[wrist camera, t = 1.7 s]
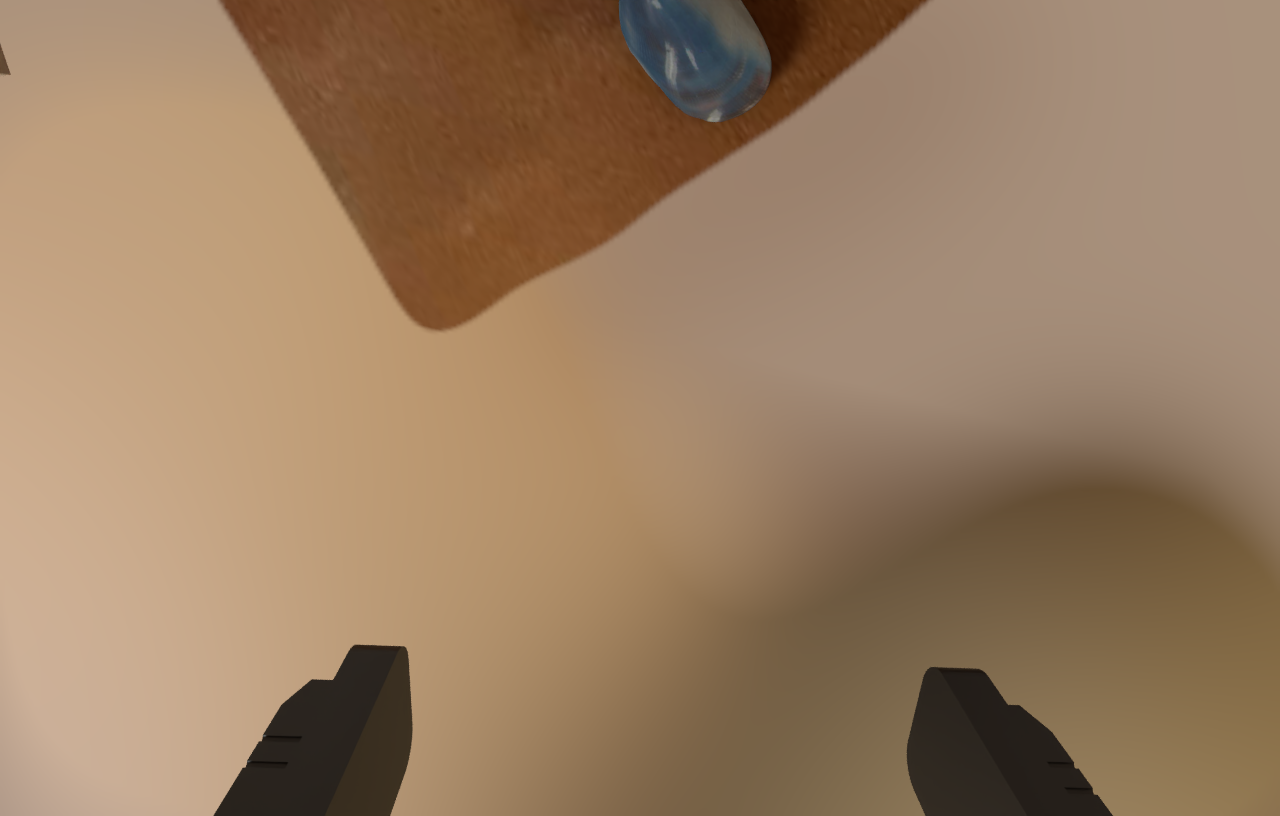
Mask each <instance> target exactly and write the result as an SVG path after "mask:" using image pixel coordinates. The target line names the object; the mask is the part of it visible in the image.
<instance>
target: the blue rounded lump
mask: <svg viewBox="0 0 1280 816" xmlns="http://www.w3.org/2000/svg"><path fill="white" fill-rule="evenodd" d="M619 18H620V24H621V29H622V32H623V35H624V37H625V40H626V42H627V45H628V47H629V49H630V51H631V52H632V54H633V55H634V56H635V57H636V59H637V60H638V61H639V63H640V64H641V66H642V67H643V69H644V70H645V72H646V73H647V74H648V75H649V76H650V77H651V78H652V80H653V81H654V82H655V83H656V84H657V85H658V86H659V87H660V88H661V89H662V90H663V92H664V93H665V94H666V95H667V97H668V98H669V99H670V100H671V101H672V102H673V103H674V104H675V105H676V106H677V107H678V108H679V109H680V110H682V111H683V112H684V113H686V114H688V115H690V116H692V117H696V118H700V119H703V120H706V121H710V122H722V121H726V120H729V119H732V118H734V117H737V116H739V115H742V114H743V113H745V112H747V111H748V110H749V109H751V108H752V107H753V106H754V105H756V104H757V103H758V102H759V101H760V100H761V98H762V97H763V95H764V94H765V92H766V90H767V88H768V86H769V83H770V79H771V57H770V53H769V50H768V47H767V45H766V43H765V41H764V38H763V37H762V35H761V33H760V31H759V29H758V27H757V26H756V24H755V22H754V20H753V18H752V17H751V15H750V13H749V11H748V10H747V9H746V7H745V6H744V4H743V3H742V1H741V0H619Z"/></svg>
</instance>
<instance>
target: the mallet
mask: <svg viewBox="0 0 1280 816" xmlns="http://www.w3.org/2000/svg"><path fill="white" fill-rule="evenodd" d="M1 75H10V71H9V69H8V66H7V63H6V60H5V57H4V54H3V51H2V48H1V45H0V76H1Z"/></svg>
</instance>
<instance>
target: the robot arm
mask: <svg viewBox="0 0 1280 816" xmlns="http://www.w3.org/2000/svg"><path fill="white" fill-rule="evenodd" d="M411 742H412V709H411V692H410V676H409V659H408V652H407V649H406V648H405V647H404V646H377V645H354V646H353V647H352V648H351V649H350V650H349V652H348V654H347V655H346V658H345V659H344V661H343V663H342V665H341V667H340V668H339V670H338V672H337V674H336V676H335V678H334V679H333V680H313V679H312V680H311V681H309V682H308V683H307V684H306V685H305V686H303V687H302V688H301V689H300V690H299V691H297V692H296V693H295V694H294V695H293V696H291V697H290V698H289V699H288V700H287V701H285V702H284V703H283V704H282V705H281V707H280V708H279V710H278V712H277V713H276V715H275V716H274V718H273V720H272V721H271V723H270V724H269V726H268V728H267V729H266V731H265V733H264V734H263V739H262V741H260V742H258V744H257V746H256V748H255V749H254V750H253V752H252V754H251V755H250V757H249V759H248V760H247V765H246V768H242V770H241V772H240V773H239V775H238V777H237V778H236V780H235V782H234V783H233V785H232V787H231V788H230V790H229V791H228V793H227V795H226V796H225V798H224V799H223V801H222V803H221V804H220V806H219V808H218V809H217V811H216V813H215V814H214V816H390V814H391V812H392V809H393V806H394V803H395V800H396V797H397V794H398V791H399V789H400V786H401V783H402V780H403V777H404V774H405V771H406V768H407V764H408V760H409V755H410V749H411ZM907 764H908V771H909V776H910V780H911V783H912V786H913V789H914V791H915V793H916V795H917V798H918V800H919V802H920V804H921V807H922V809H923V811H924V813H925V816H1113V815H1112V814H1111V813H1110V811H1109V810H1108V808H1107V807H1106V806H1105V804H1104V803H1103V802H1102V800H1101V799H1100V797H1099V796H1098V795H1094V794H1093V788H1092V787H1091V785H1090V784H1089V782H1088V781H1087V780H1086V778H1085V777H1084V776H1083V774H1082V773H1081V771H1080V770H1079V769H1075V767H1074V762H1073V761H1072V759H1071V758H1070V756H1069V755H1068V754H1067V752H1066V751H1065V749H1064V748H1063V747H1062V746H1061V744H1060V743H1059V741H1058V740H1057V738H1056V737H1055V736H1054V734H1053V733H1052V732H1051V731H1050V730H1049V729H1048V728H1046V727H1045V726H1044V725H1043V724H1041V723H1040V722H1039V721H1038V720H1037V719H1035V718H1034V717H1033V716H1032V715H1031V714H1029V713H1028V712H1027V711H1026V710H1024V709H1023V708H1022V707H1021V706H1019V705H1008V704H1007V703H1006V702H1005V700H1004V699H1003V697H1002V696H1001V694H1000V693H999V691H998V690H997V689H996V687H995V686H994V684H993V683H992V681H991V680H990V678H989V677H988V676H987V674H986V673H985V672H983V671H982V670H980V669H970V668H942V667H931V668H929V669H928V670H927V671H926V673H925V675H924V677H923V681H922V685H921V689H920V693H919V698H918V702H917V706H916V710H915V714H914V718H913V723H912V727H911V731H910V735H909V739H908V744H907Z"/></svg>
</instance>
